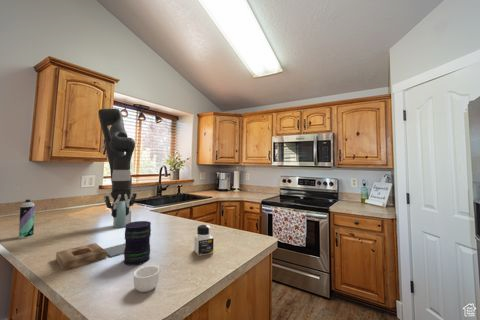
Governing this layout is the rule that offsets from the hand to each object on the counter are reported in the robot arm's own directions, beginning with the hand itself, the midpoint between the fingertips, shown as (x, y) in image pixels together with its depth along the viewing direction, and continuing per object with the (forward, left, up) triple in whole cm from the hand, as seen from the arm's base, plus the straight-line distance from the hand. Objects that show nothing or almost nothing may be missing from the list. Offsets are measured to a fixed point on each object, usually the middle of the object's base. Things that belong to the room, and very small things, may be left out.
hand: (120, 216), depth 98 cm
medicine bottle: (-25, +30, -16) cm, 42 cm away
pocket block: (+14, -2, -16) cm, 21 cm away
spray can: (+26, -55, -16) cm, 63 cm away
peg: (0, 0, -5) cm, 5 cm away
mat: (0, 0, -16) cm, 16 cm away
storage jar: (-1, +16, -16) cm, 23 cm away
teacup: (+5, +38, -16) cm, 42 cm away
